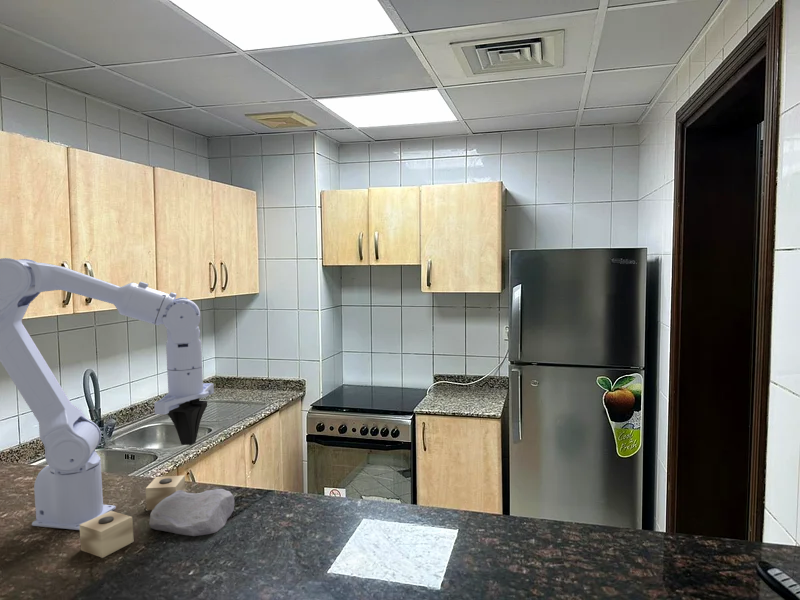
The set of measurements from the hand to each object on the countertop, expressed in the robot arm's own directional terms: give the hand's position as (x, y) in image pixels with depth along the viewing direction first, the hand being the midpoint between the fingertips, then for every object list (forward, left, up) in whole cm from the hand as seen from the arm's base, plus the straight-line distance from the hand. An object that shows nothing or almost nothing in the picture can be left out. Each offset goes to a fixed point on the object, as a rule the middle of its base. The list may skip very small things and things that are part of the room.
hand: (188, 443), depth 94 cm
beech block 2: (-4, -1, -11) cm, 11 cm away
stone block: (+5, -7, -11) cm, 14 cm away
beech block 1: (-3, -16, -11) cm, 20 cm away
